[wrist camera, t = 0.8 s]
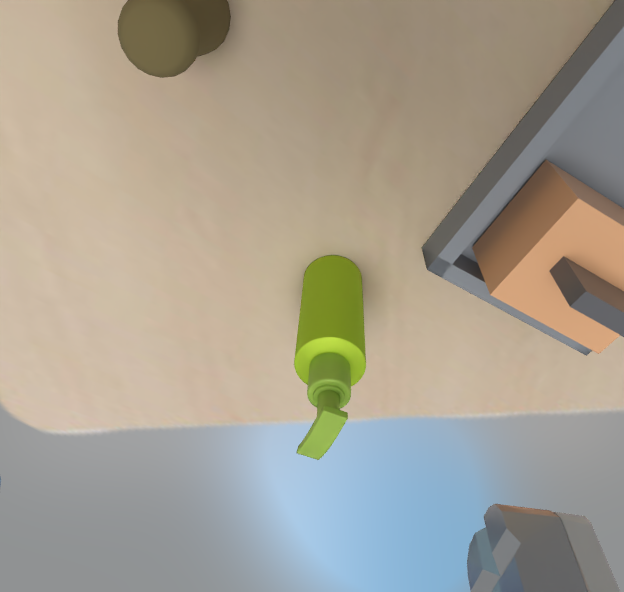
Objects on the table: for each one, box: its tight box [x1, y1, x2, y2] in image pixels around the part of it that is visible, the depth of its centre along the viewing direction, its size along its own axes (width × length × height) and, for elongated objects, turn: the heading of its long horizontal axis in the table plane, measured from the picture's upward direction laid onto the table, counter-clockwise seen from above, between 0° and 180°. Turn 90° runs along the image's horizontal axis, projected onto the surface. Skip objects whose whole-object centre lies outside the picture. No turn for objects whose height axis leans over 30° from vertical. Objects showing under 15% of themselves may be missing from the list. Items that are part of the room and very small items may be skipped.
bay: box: [422, 0, 624, 355], centre depth 49 cm, size 26×19×4 cm
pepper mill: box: [118, 0, 231, 77], centre depth 40 cm, size 6×6×11 cm
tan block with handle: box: [472, 160, 624, 354], centre depth 47 cm, size 10×12×13 cm
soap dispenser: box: [294, 255, 366, 460], centre depth 49 cm, size 6×7×20 cm
